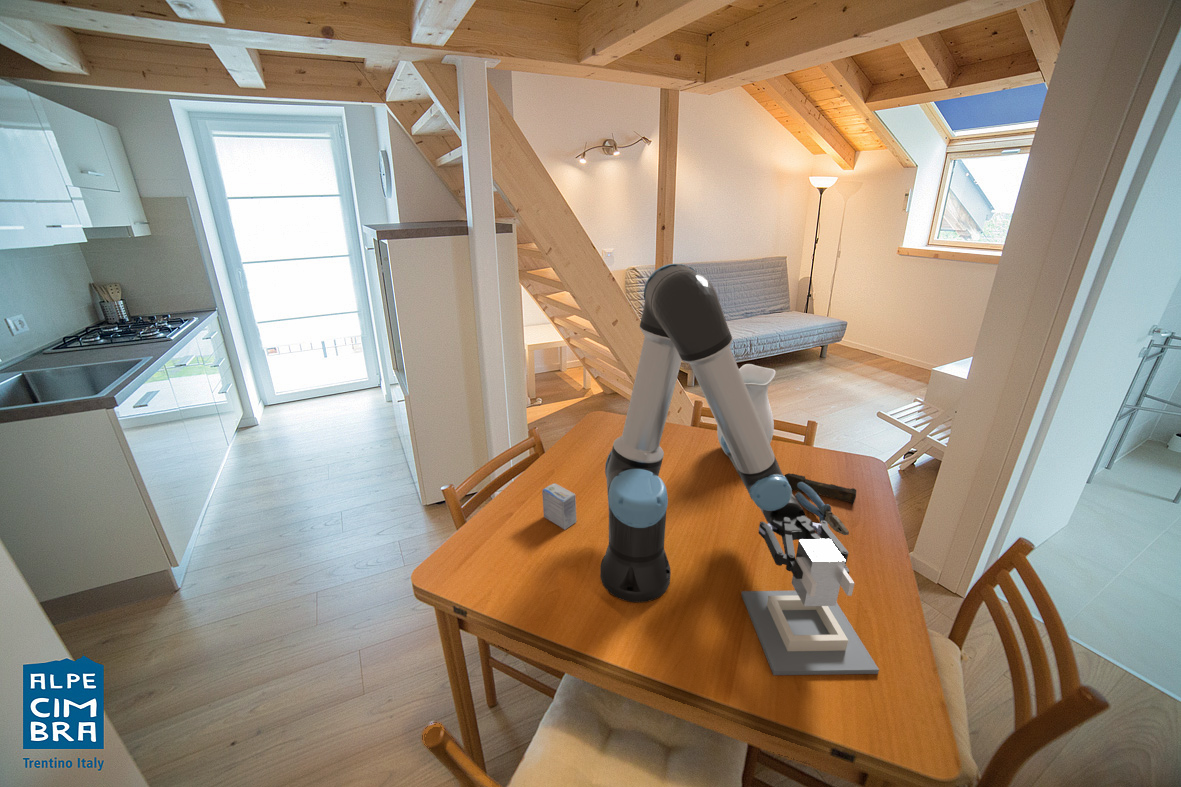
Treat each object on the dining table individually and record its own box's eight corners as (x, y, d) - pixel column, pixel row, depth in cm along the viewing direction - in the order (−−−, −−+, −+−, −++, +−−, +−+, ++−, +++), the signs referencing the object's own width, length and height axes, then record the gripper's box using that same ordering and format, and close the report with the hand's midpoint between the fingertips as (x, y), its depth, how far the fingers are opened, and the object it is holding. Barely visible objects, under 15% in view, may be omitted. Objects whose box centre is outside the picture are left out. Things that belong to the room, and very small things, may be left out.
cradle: (773, 675, 81) (776, 660, 80) (741, 594, 98) (743, 581, 97) (877, 673, 82) (882, 659, 80) (828, 593, 98) (831, 580, 97)
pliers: (848, 544, 112) (852, 524, 110) (839, 545, 112) (844, 525, 110) (800, 496, 131) (803, 478, 129) (793, 497, 130) (796, 479, 128)
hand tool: (854, 499, 130) (857, 484, 128) (854, 506, 127) (857, 492, 125) (781, 481, 138) (783, 467, 137) (779, 488, 135) (781, 474, 133)
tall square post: (804, 606, 84) (812, 560, 80) (791, 583, 89) (799, 539, 86) (835, 605, 84) (845, 560, 80) (821, 582, 89) (830, 538, 86)
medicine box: (577, 522, 121) (576, 493, 118) (564, 530, 118) (563, 501, 115) (555, 510, 126) (554, 481, 123) (543, 517, 123) (541, 489, 120)
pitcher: (733, 436, 165) (742, 359, 154) (779, 453, 153) (792, 372, 143) (691, 460, 150) (698, 377, 139) (739, 481, 138) (750, 392, 128)
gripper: (820, 521, 103) (883, 605, 81) (734, 523, 103) (773, 608, 81) (826, 491, 100) (892, 571, 78) (737, 493, 100) (779, 573, 78)
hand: (832, 589), depth 80 cm, fingers closed on tall square post, 6 cm apart
